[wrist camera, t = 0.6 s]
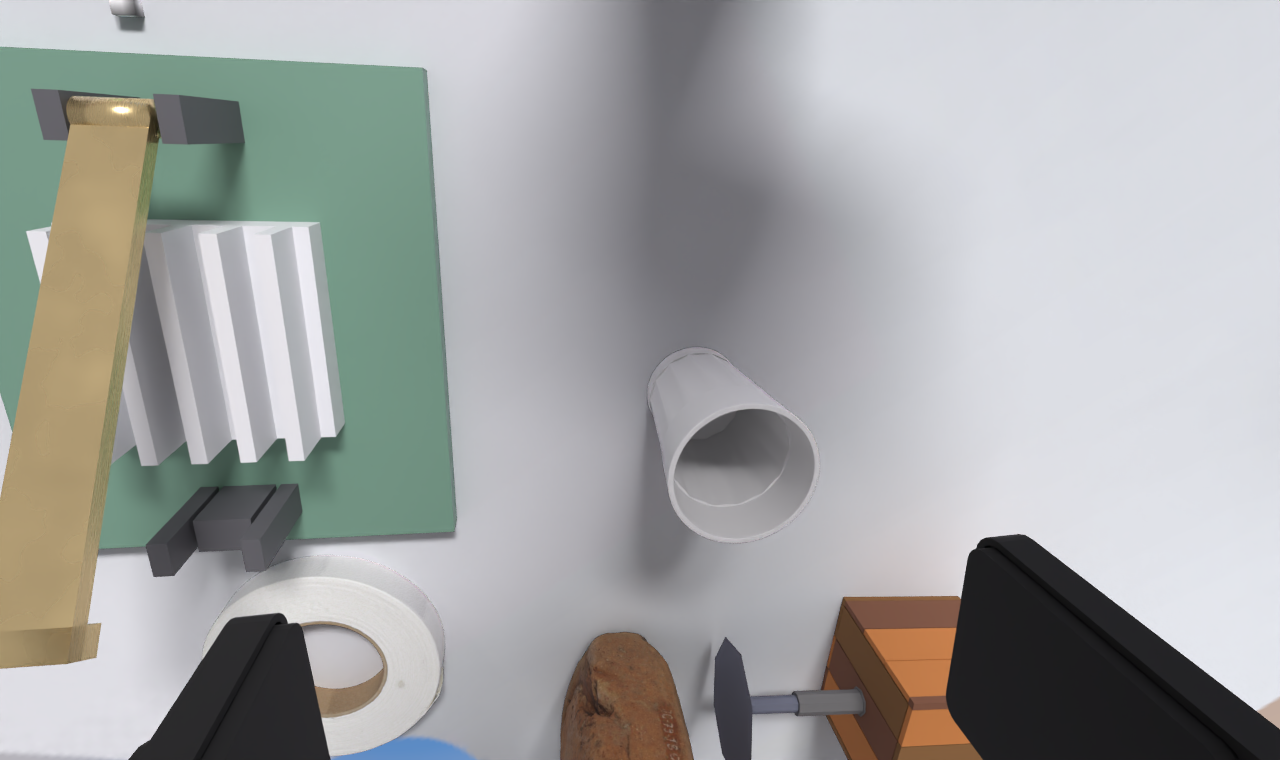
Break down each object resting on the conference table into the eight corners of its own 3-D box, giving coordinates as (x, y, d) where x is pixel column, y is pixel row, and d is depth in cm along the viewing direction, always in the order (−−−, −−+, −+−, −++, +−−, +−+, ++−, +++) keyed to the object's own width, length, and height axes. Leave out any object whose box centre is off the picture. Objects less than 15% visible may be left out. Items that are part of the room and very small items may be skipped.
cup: (656, 461, 47) (695, 565, 35) (618, 360, 44) (646, 438, 32) (763, 420, 47) (835, 510, 36) (732, 317, 44) (799, 380, 33)
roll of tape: (222, 724, 49) (204, 757, 47) (215, 545, 44) (194, 571, 42) (439, 726, 52) (434, 758, 49) (455, 559, 47) (450, 584, 45)
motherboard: (-81, 45, 33) (-254, 20, 26) (426, 70, 36) (399, 54, 29) (65, 537, 42) (-31, 619, 35) (456, 519, 46) (442, 590, 39)
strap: (100, 117, 30) (70, 87, 28) (173, 120, 30) (148, 90, 29) (3, 664, 24) (-42, 672, 22) (96, 657, 25) (58, 665, 23)
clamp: (722, 597, 52) (786, 757, 38) (957, 595, 55) (1092, 742, 42) (703, 705, 55) (757, 887, 42) (925, 697, 58) (1041, 863, 45)
